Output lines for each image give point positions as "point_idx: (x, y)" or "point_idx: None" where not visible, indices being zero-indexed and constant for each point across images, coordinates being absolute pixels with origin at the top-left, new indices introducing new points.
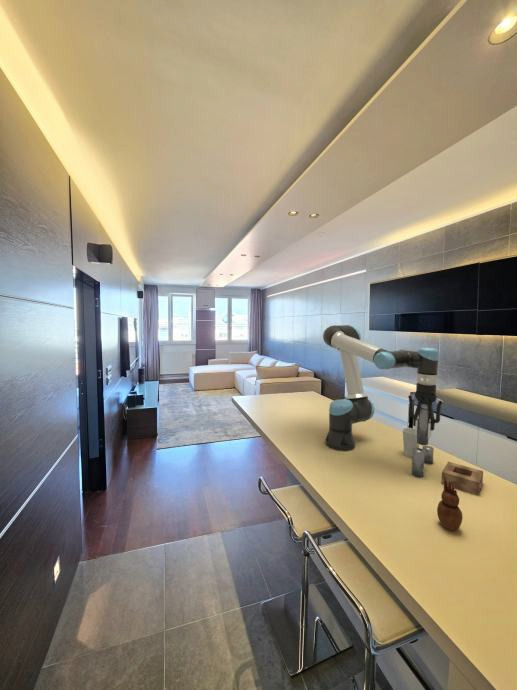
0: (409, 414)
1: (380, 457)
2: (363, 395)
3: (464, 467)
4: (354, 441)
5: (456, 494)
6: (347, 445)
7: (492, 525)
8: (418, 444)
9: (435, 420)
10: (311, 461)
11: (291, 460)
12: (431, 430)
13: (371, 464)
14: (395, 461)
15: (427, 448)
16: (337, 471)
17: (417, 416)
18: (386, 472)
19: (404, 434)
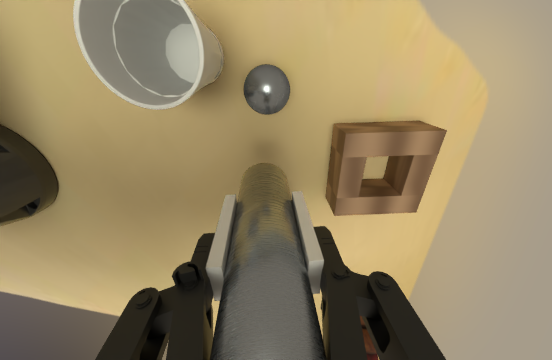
0: (145, 344)
1: (148, 163)
2: None
3: (393, 145)
4: (13, 160)
5: (376, 357)
6: (39, 200)
7: (402, 262)
8: (214, 59)
9: (362, 313)
10: (79, 285)
11: (57, 303)
12: (308, 213)
13: (164, 217)
14: (193, 158)
15: (268, 105)
16: (146, 282)
17: (203, 298)
18: (213, 228)
19: (134, 93)
